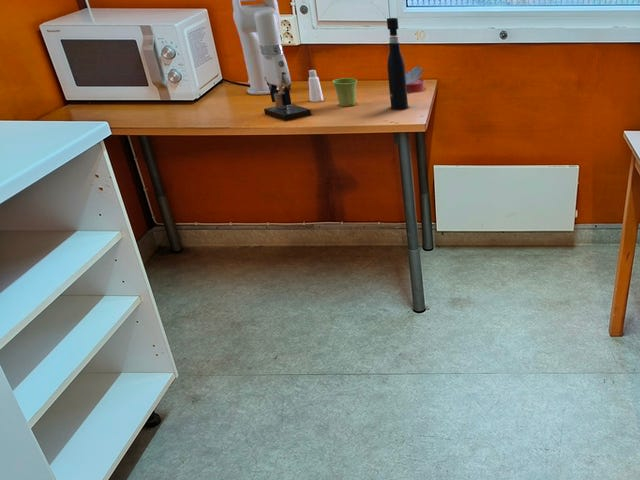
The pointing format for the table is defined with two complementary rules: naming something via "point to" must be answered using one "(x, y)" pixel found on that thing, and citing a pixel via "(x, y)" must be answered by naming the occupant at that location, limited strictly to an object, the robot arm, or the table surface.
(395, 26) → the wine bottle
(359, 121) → the table surface
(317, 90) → the pepper shaker
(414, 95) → the table surface
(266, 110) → the black knob panel
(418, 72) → the tissue box
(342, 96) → the plant pot
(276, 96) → the hob knob
